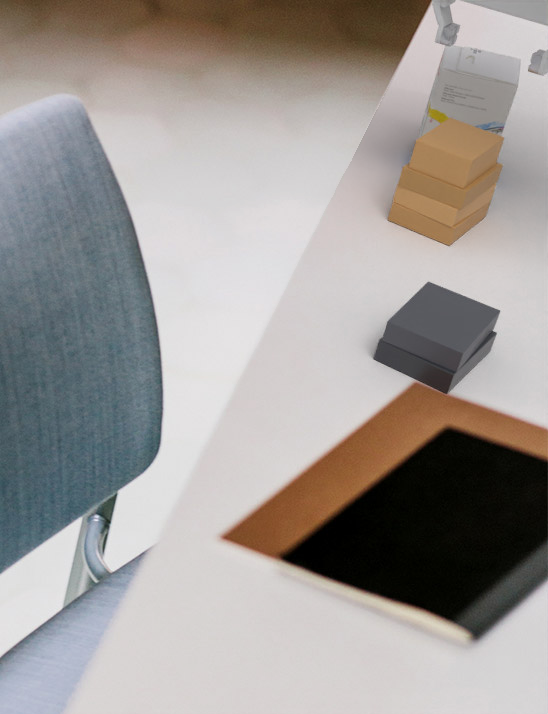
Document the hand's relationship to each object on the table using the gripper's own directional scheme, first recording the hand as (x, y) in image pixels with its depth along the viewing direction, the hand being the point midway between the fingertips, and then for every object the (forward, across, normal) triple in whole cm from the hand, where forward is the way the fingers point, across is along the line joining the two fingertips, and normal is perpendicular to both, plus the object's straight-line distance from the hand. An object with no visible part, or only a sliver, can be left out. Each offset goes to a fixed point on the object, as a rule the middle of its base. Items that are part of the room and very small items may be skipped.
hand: (490, 57), depth 113 cm
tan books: (+17, +1, 0) cm, 17 cm away
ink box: (+18, +6, -14) cm, 23 cm away
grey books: (+17, -10, +24) cm, 31 cm away
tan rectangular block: (+11, +1, 0) cm, 11 cm away
